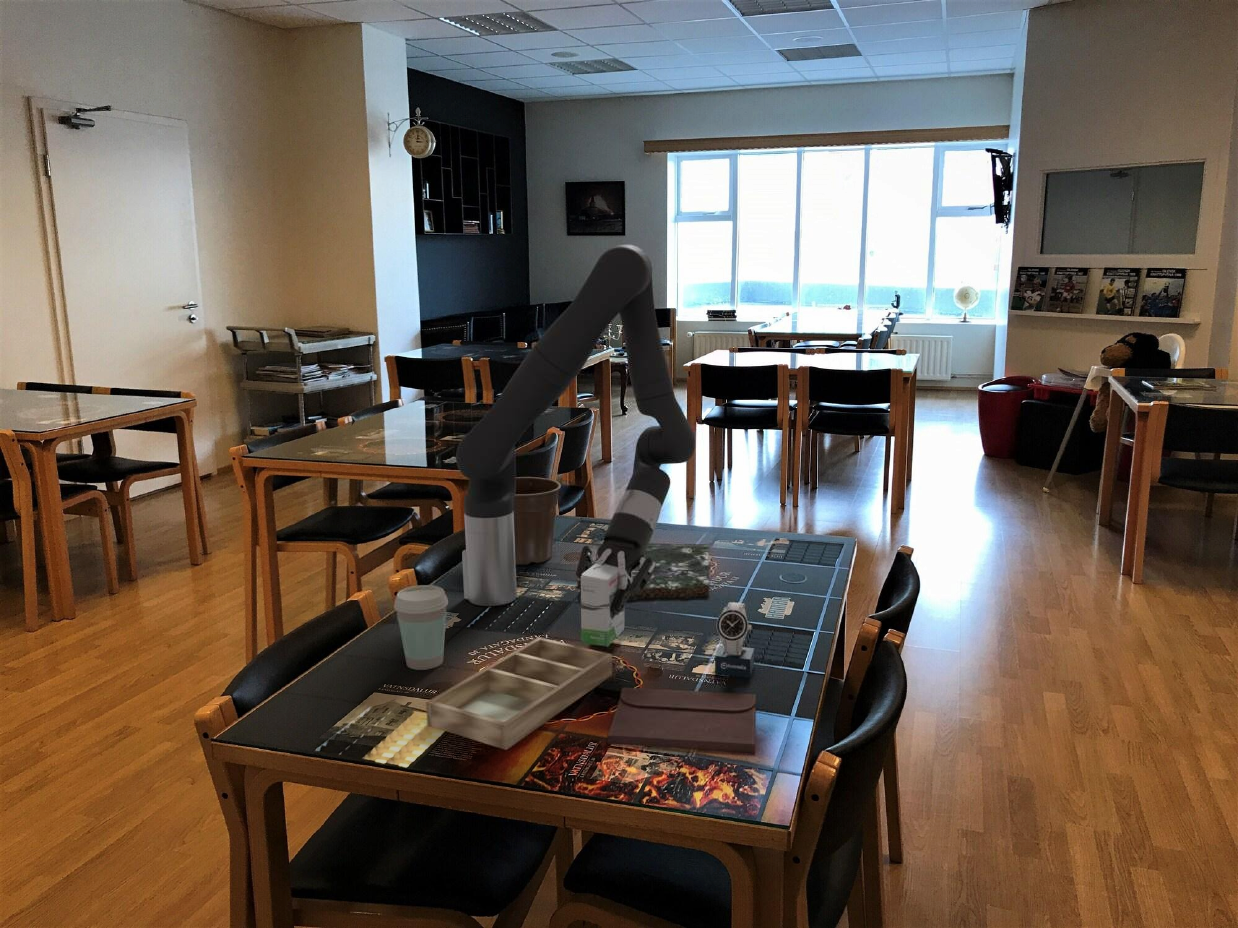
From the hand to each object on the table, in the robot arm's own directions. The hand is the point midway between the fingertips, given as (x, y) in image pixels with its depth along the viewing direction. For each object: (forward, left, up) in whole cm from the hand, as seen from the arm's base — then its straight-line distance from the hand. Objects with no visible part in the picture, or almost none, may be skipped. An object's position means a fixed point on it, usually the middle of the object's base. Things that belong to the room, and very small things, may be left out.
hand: (597, 608), depth 162 cm
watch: (+23, +4, -7) cm, 25 cm away
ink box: (0, +2, -6) cm, 6 cm away
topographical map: (-13, +39, -8) cm, 41 cm away
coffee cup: (-22, -18, -7) cm, 30 cm away
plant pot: (-41, +35, -7) cm, 54 cm away
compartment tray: (0, -21, -7) cm, 22 cm away
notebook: (+24, -15, -8) cm, 30 cm away
